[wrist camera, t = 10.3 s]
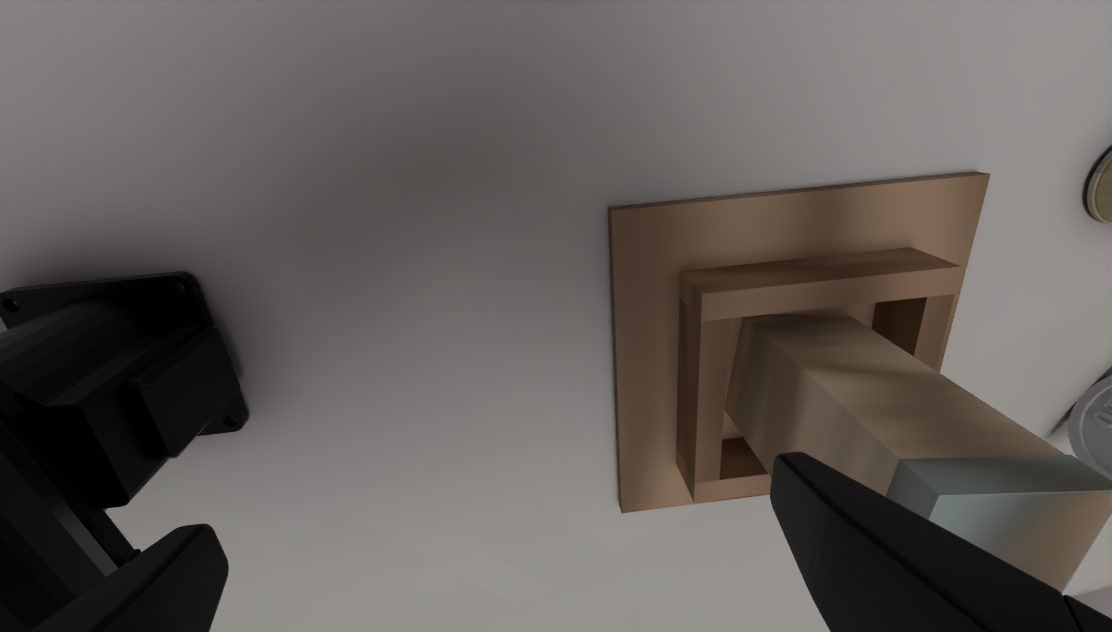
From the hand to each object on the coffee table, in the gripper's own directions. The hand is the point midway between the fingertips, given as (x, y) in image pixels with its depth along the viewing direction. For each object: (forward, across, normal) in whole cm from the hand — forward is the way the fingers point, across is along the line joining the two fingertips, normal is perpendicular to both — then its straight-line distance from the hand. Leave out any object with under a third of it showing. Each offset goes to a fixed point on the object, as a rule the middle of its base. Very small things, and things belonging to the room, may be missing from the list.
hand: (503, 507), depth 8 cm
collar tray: (+12, -11, +5) cm, 17 cm away
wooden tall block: (+11, -11, +5) cm, 17 cm away
